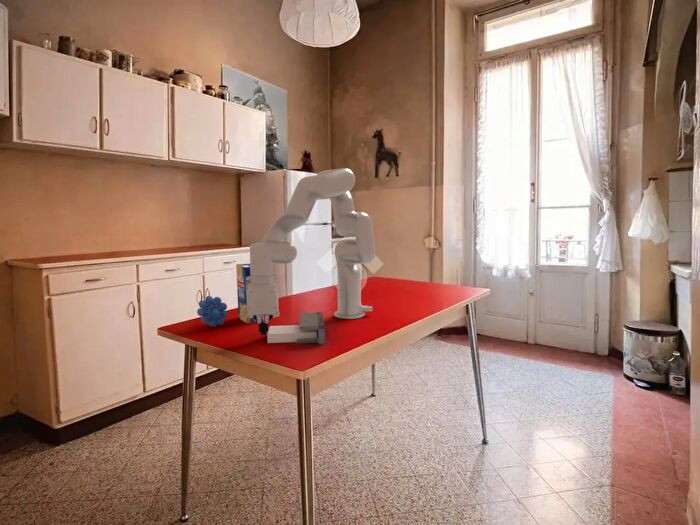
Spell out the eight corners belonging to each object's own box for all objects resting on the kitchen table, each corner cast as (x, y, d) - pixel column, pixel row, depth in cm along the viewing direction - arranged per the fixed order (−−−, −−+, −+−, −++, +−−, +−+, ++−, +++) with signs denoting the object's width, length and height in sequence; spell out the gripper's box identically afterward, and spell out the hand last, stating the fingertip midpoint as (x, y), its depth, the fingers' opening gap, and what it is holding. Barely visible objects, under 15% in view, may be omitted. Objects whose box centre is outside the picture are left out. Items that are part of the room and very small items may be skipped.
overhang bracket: (322, 328, 144) (322, 312, 144) (324, 344, 127) (324, 325, 126) (297, 329, 143) (297, 313, 143) (296, 345, 126) (296, 326, 125)
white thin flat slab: (316, 332, 140) (315, 324, 139) (316, 340, 130) (316, 332, 130) (270, 334, 138) (269, 326, 138) (267, 343, 128) (267, 334, 128)
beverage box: (247, 323, 153) (244, 267, 150) (238, 317, 162) (236, 264, 159) (263, 320, 156) (262, 265, 154) (254, 315, 165) (252, 263, 163)
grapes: (202, 332, 142) (200, 299, 140) (195, 328, 147) (193, 296, 145) (233, 326, 149) (231, 294, 148) (225, 322, 154) (224, 292, 153)
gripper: (237, 282, 126) (239, 338, 128) (284, 281, 128) (285, 336, 130) (241, 279, 134) (242, 331, 136) (285, 278, 135) (286, 330, 137)
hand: (263, 333), depth 133 cm, fingers closed
